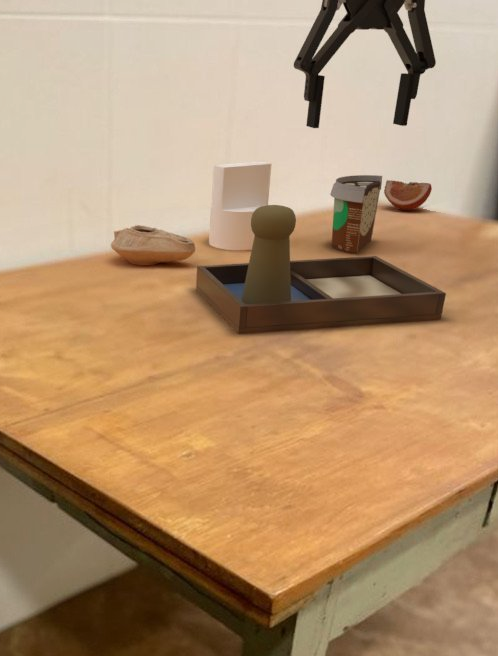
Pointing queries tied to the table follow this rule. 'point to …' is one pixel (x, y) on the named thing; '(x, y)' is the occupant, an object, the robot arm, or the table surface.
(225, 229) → the cylinder with rectangular tab
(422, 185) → the fruit slice
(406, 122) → the robot arm
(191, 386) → the table surface
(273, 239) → the olive knobbed cone
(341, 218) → the food container
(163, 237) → the pottery oil lamp
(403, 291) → the sorting tray
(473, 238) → the table surface
